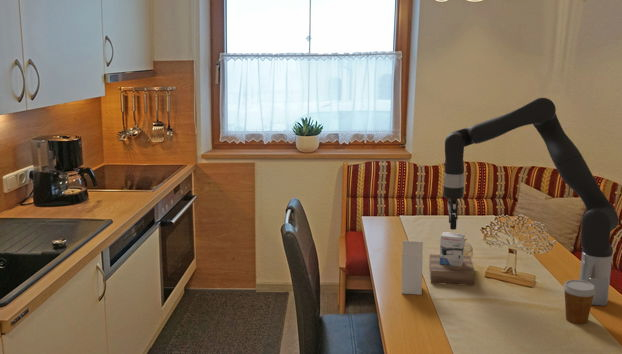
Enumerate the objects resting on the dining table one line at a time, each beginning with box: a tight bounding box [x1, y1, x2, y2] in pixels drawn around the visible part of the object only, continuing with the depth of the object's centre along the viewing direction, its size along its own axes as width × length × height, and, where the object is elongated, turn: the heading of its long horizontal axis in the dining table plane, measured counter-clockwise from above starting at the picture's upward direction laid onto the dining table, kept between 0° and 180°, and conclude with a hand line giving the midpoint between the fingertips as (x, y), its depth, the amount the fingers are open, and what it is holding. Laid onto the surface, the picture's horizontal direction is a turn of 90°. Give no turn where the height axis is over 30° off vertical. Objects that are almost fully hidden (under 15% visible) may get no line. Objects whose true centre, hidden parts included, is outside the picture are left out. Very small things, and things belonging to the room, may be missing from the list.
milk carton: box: [401, 240, 424, 296], centre depth 206 cm, size 7×7×19 cm
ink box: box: [439, 231, 465, 267], centre depth 219 cm, size 8×5×12 cm, turn 66°
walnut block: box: [429, 254, 476, 286], centre depth 221 cm, size 18×16×5 cm
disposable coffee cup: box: [562, 279, 596, 325], centre depth 182 cm, size 10×10×12 cm
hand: (452, 226), depth 217 cm, fingers open, 8 cm apart
